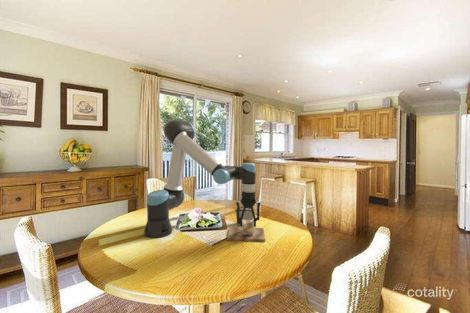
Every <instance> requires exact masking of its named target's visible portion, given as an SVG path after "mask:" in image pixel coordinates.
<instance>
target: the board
mask: <svg viewBox="0 0 470 313" xmlns="http://www.w3.org/2000/svg"><path fill="white" fill-rule="evenodd" d="M226 241H234V242H261V243H262V242H266V235H265V230H264V228H263V227H254V233H253V236H243V233H242V227H234V226H233V227H229V228H228V233H227V240H226Z"/></svg>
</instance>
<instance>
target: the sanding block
mask: <svg viewBox="0 0 470 313" xmlns="http://www.w3.org/2000/svg"><path fill="white" fill-rule="evenodd" d="M243 236H253V222H252V220H244V224H243Z"/></svg>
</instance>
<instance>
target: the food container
mask: <svg viewBox="0 0 470 313" xmlns="http://www.w3.org/2000/svg"><path fill="white" fill-rule="evenodd" d="M243 207H244V206H240V207H239V217H241V214H242V210H243ZM234 212H235V215H236V216H235V217H236V218H237V207H236V208H235V209H234ZM242 220H254V219H253V215H252V211H251V208H246V209H245V212H244V216H243V219H242ZM236 225H240V220H237V219H236Z"/></svg>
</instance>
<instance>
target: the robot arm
mask: <svg viewBox="0 0 470 313" xmlns="http://www.w3.org/2000/svg"><path fill="white" fill-rule="evenodd" d="M163 134H164V137H165V138H166V139H167V140H168V141H169V143H171V145H172V148H171V154H170V155H171V156H170V162H169V168H168V175H167V180H166V184H164V185H163V188H162V189H158V190H153V191H151V192H149V193H148V194H147V196H146V211H147V212H146V213H147V214H146V216H147V217H146V218H147V220H146V224H145V228H144V234H143V235H144V236H145V237H146V238H153V239H156V238H164V237H167V236H169V235H171V234H172V233H173V226H172V224H171V221H170V220H171V219H170V211H171V210H173V209H175V208H178V207H180V205H182V204H183V203H184V201H185V199H186V198H185V197H186V196H185V192H184V187H183V185H182V182H183V176H184V170H185V163H186V156H187V155H188V156H189V157H191V159H193V160H194V161H195V162H196V163H197V164H198V165H199V166H200V167H201V168H203V169H204V170H205V171H206V172H207V173H209V174H210V175H211V176H212V177H213V180H214V183H216V184H217V185H223V184H227V183H228V182H230V181H232V180H233V181H234V180H235V181H237V180H238V181H239V180H240V181H241V190H242V191H241V198H240V199H241V200H238V201H236V203H235V204H236V208H237V217H236V221H237V220H240V224H239V227H241V228H242V233H243V224H244V220H242V219H243V216H244V212H245V209H246V208H251V211H252V215H253V220H252V222H253V233H254V228H257V221H260V207H261V202H260V201H257V200H256V176H257V174H256V173H257V169H256V164H255V163H253V162H244V163H242V164H241V165H240V166H239V165H237V166H236V165H223V164H222V163H221V162H220V161H218V160H217V159H216V158H215V157H214V156H212V155H211V154H210V153H208V152H207V150H205V149H204V148H203V147H202V146H200V145H199V144H198V143H197V142H196V141H195V140H193V139H194V138H195V136H196V128H195V127H194V125H193V124H192V123H191V122H188V121H183V120H176V119H171V120H169V121H167V122H166V123H165V125H164V127H163ZM241 204H242V207H243V210H242V214H241V217H239V207H241ZM255 205H256V214H255V209H254V206H255Z"/></svg>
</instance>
